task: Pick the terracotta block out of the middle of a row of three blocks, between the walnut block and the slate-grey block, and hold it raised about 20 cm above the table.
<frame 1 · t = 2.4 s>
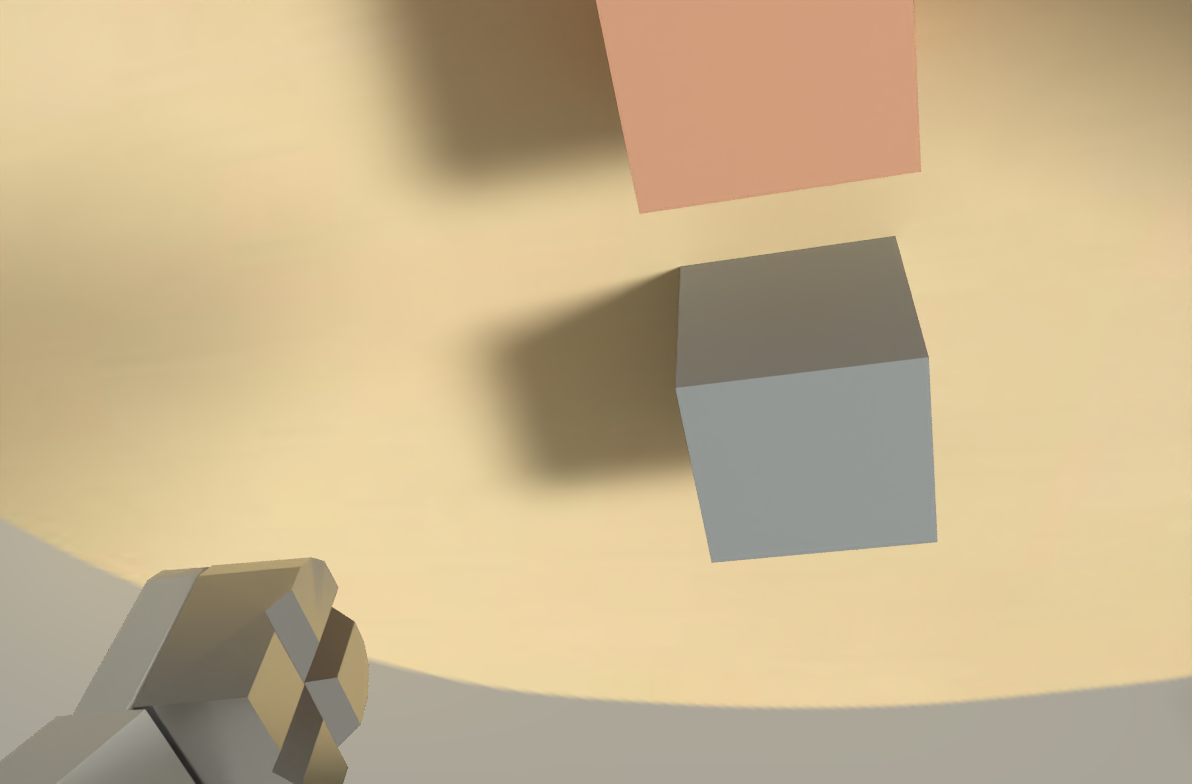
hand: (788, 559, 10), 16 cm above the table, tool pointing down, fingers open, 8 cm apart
slate block: (796, 337, 28), on the table
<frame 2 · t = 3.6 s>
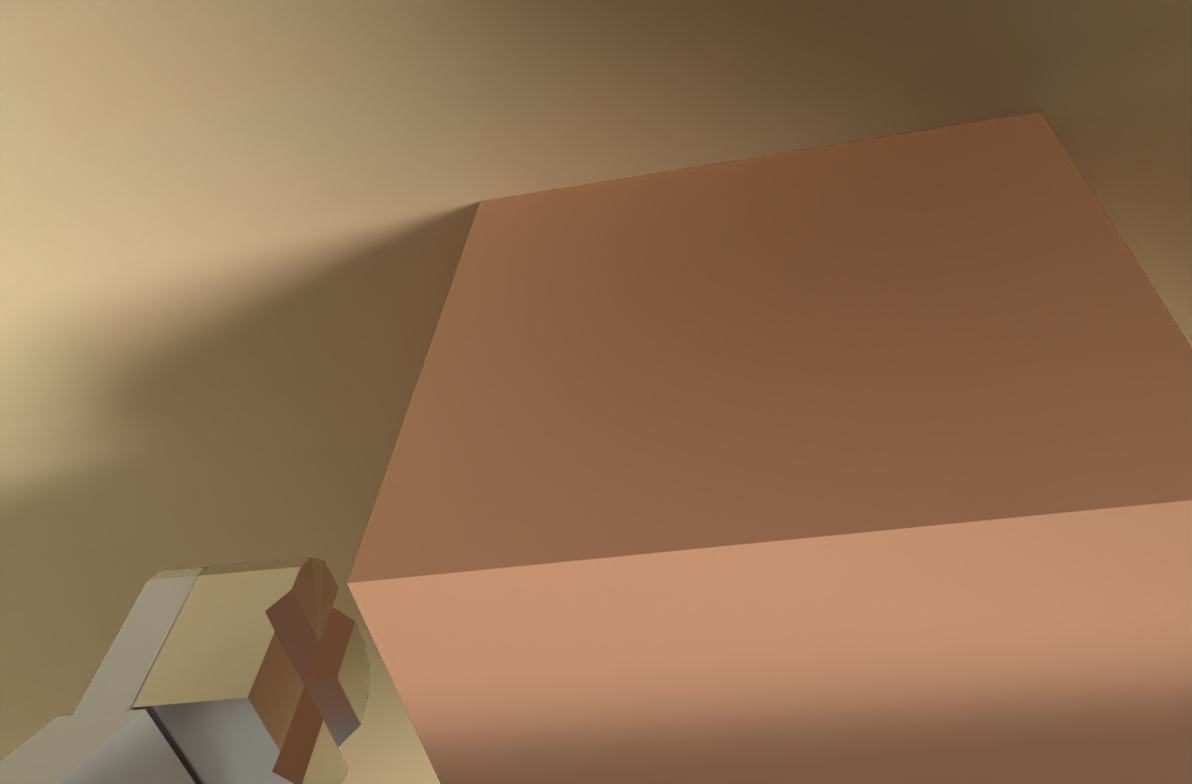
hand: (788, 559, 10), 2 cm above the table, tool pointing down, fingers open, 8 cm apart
terracotta block: (778, 378, 11), on the table
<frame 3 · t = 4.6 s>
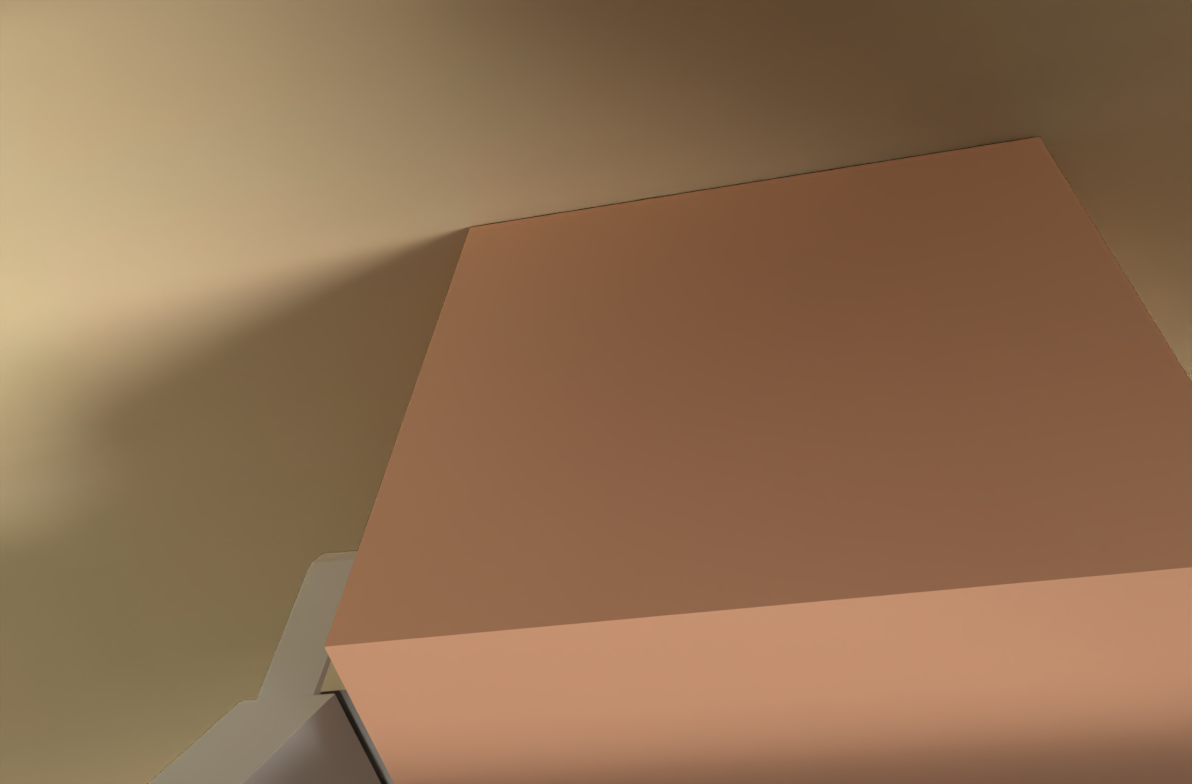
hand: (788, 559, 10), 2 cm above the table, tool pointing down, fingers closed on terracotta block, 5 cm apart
terracotta block: (775, 409, 11), on the table, touching gripper
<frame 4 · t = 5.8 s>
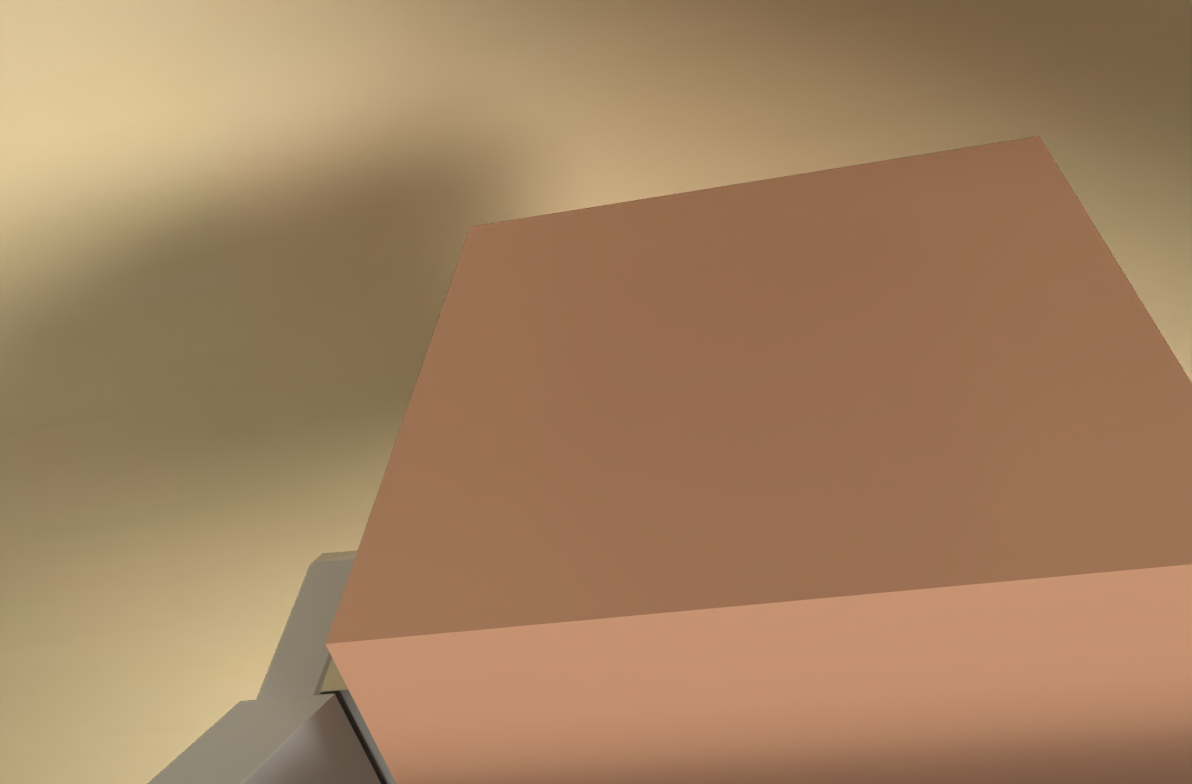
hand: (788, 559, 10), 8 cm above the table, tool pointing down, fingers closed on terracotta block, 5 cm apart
terracotta block: (774, 408, 11), point 5 cm above the table, touching gripper
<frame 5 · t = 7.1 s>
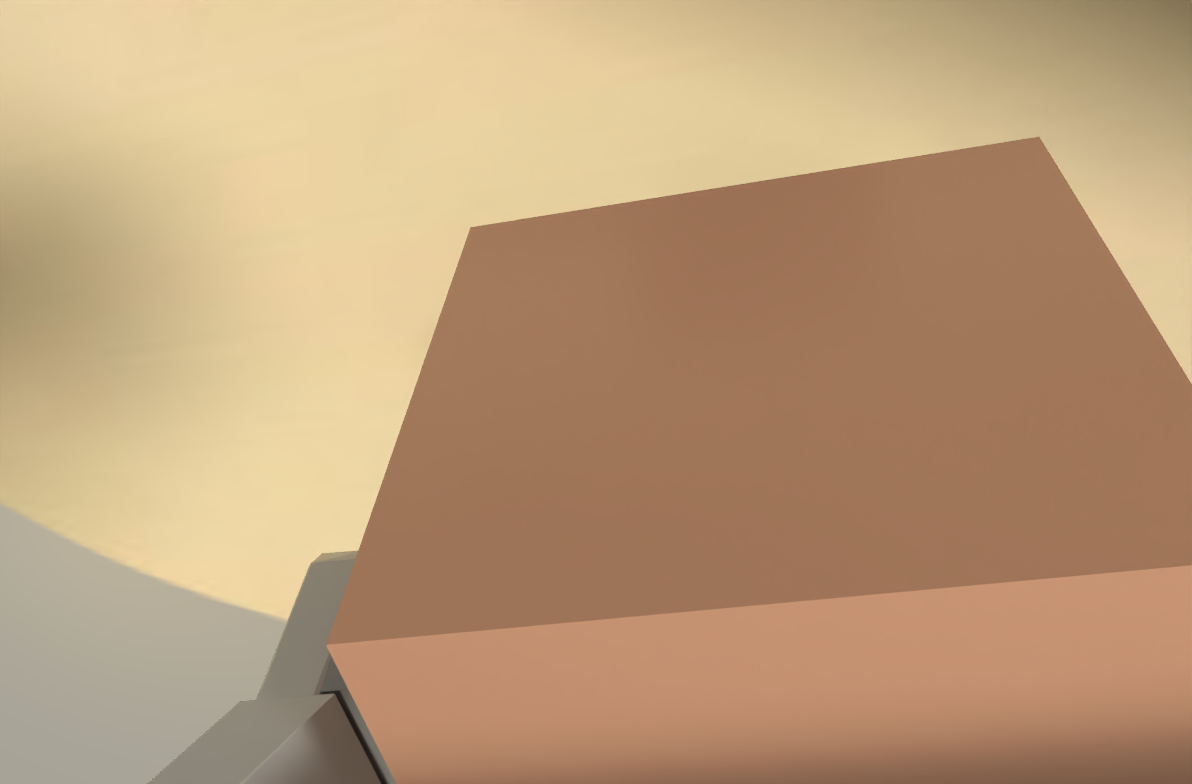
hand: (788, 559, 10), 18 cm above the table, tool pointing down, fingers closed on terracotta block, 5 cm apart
terracotta block: (775, 409, 11), point 16 cm above the table, touching gripper
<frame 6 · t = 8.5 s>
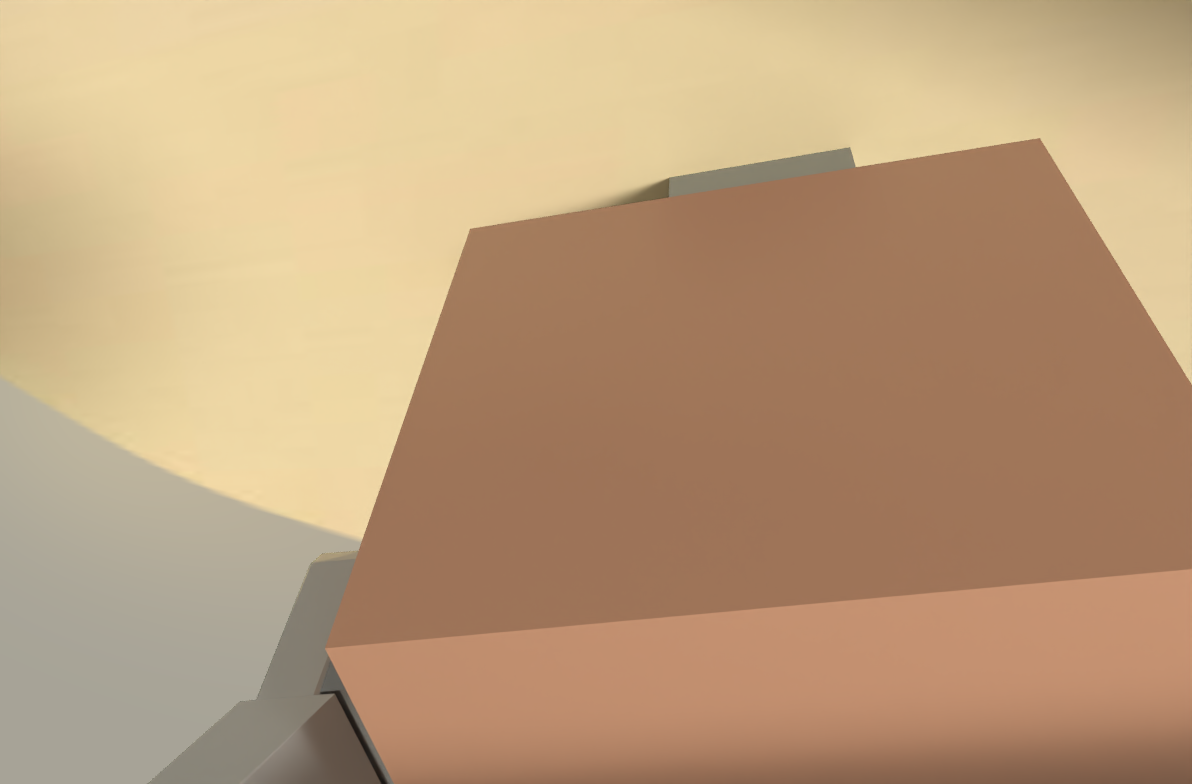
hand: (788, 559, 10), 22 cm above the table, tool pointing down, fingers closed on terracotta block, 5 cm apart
terracotta block: (775, 410, 11), point 20 cm above the table, touching gripper
slate block: (769, 240, 32), on the table
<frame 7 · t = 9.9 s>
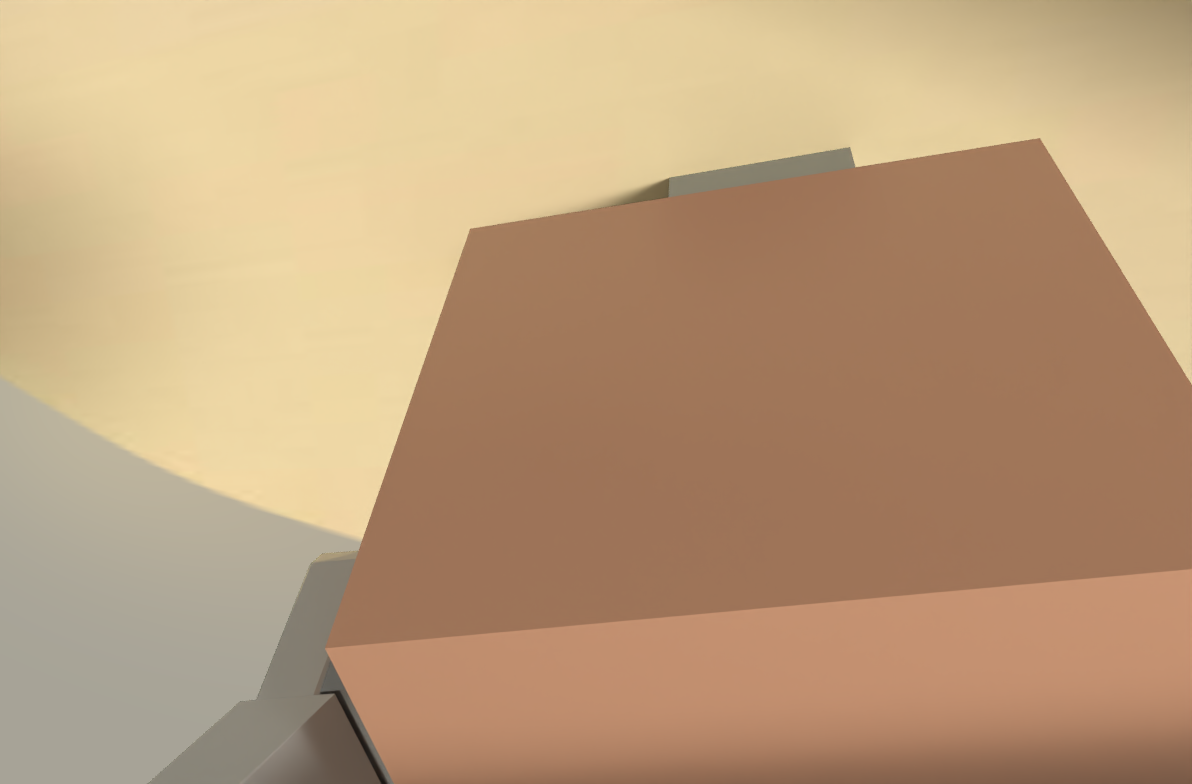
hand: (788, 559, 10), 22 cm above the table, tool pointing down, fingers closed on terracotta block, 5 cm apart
terracotta block: (775, 410, 11), point 20 cm above the table, touching gripper
slate block: (769, 240, 32), on the table
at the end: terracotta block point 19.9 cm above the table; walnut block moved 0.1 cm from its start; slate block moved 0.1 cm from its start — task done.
